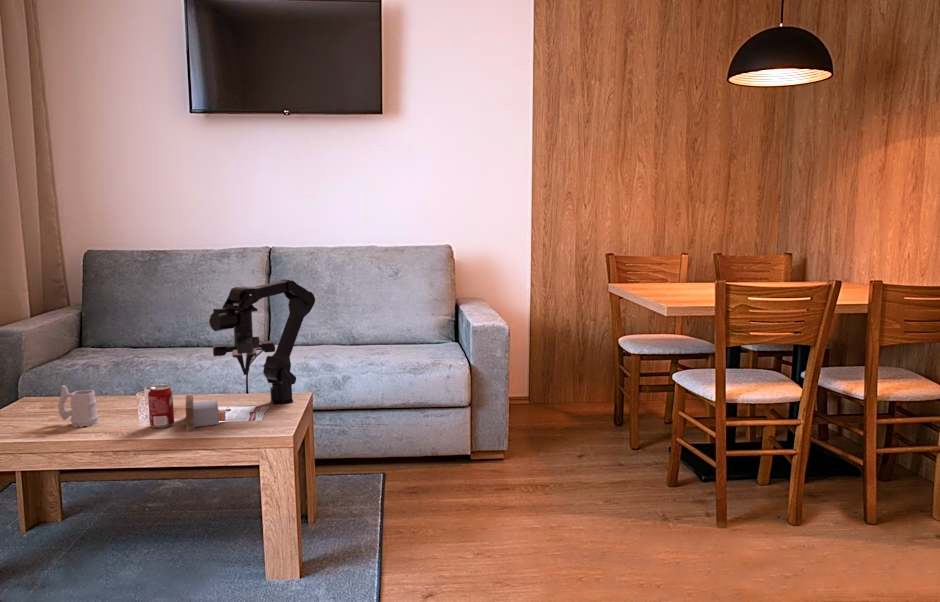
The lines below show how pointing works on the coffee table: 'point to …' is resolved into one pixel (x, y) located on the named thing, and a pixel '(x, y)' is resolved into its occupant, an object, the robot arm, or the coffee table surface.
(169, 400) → the soda can
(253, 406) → the coffee table surface
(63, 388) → the mug
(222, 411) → the orange white rectangular bar
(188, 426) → the wall
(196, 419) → the block
